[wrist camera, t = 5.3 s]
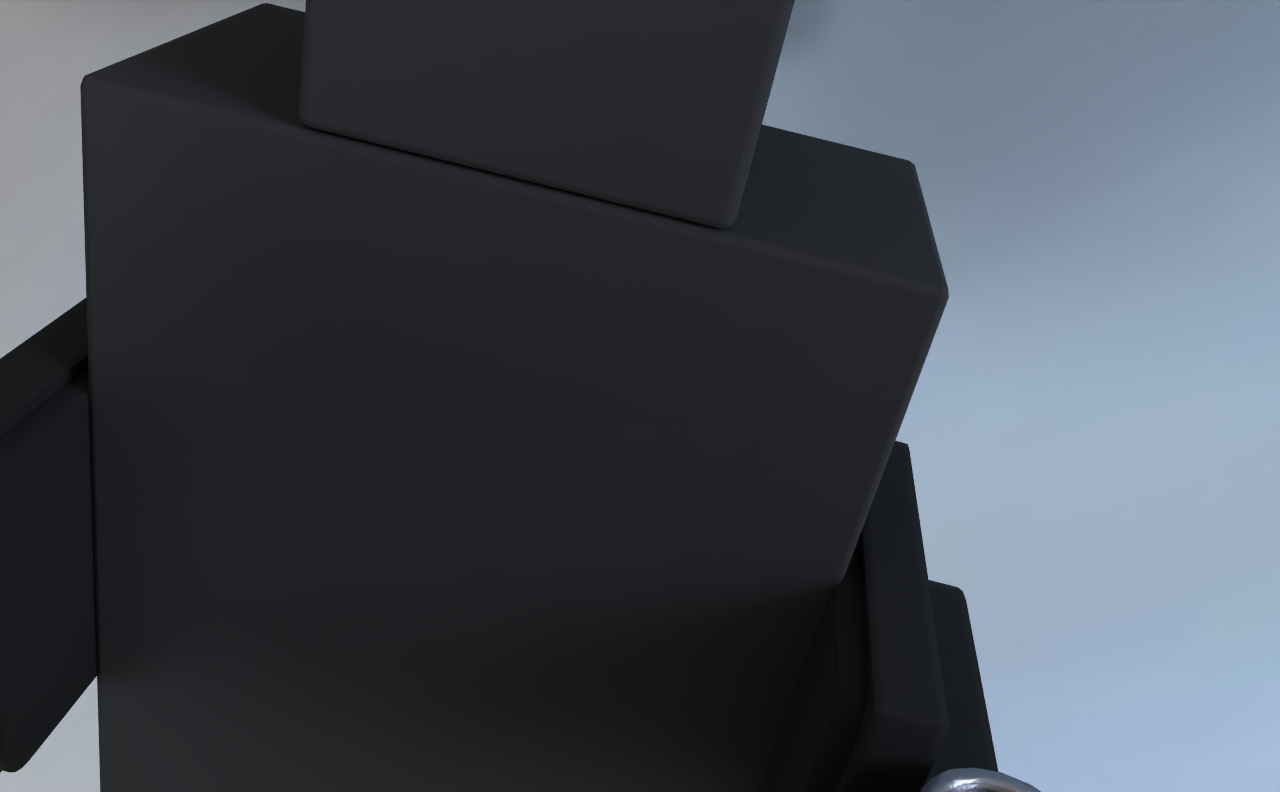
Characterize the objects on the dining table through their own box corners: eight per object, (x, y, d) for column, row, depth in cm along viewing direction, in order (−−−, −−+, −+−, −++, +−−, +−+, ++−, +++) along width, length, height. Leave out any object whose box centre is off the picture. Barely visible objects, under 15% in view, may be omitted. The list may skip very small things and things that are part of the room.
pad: (279, -399, 9) (58, -473, 6) (1044, -215, 9) (1143, -213, 6) (230, 663, 14) (98, 864, 12) (706, 784, 14) (683, 1013, 11)
